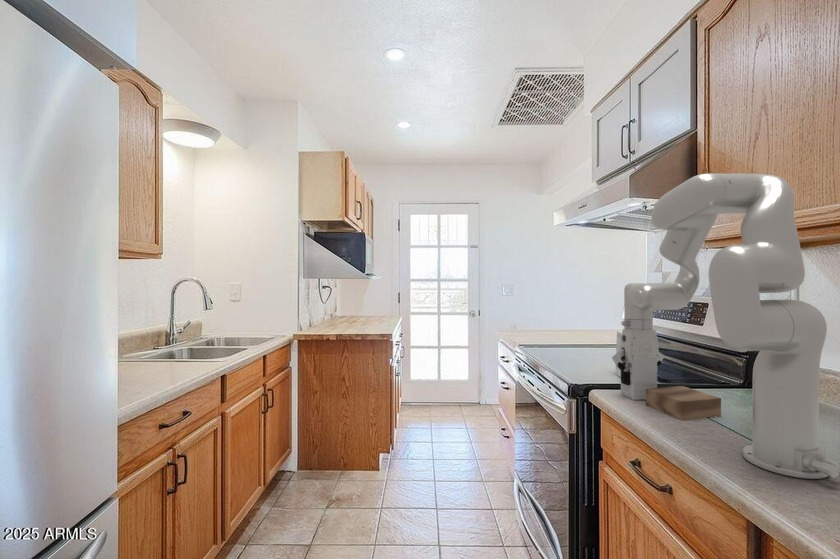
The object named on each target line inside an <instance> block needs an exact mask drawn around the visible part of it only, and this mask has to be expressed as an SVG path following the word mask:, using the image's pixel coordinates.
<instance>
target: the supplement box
mask: <svg viewBox="0 0 840 559" xmlns="http://www.w3.org/2000/svg"><path fill="white" fill-rule="evenodd" d="M624 357H625V355H624ZM625 360H626V357H625ZM621 362H622V361H621ZM626 364H627V363H626ZM625 366H626V365H625ZM628 372H630V385H625V384H623V383H621V382H620V393H621V394H622V395H624V396H625V397H627V398H629V399H631V400H633V401H638V400H639V401H642V400H645V401H646V389H649V388H658V370H657V357H656V356H644V357H632V364H630V368H629V370H628Z"/></svg>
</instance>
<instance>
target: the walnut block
mask: <svg viewBox="0 0 840 559" xmlns="http://www.w3.org/2000/svg"><path fill="white" fill-rule="evenodd" d="M645 406H646V407H649V408H651V409H653V410H656V411H659V412H661V413H663V414H665V415H668V416H669V417H673V418H675V419H677V420H680V421H688V420H696V419H697V420H700V419H707V417H710V418H716V417H715V416H720V417H722V398H721V397H719V396H715V395H712V394H708V393H705V392H702V391H699V390H696V389H693V388H691V387H687V386H684V385H676V386H665V387H664V386H663V387H657V388H649V389H646V400H645Z"/></svg>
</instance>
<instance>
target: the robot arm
mask: <svg viewBox="0 0 840 559" xmlns="http://www.w3.org/2000/svg"><path fill="white" fill-rule="evenodd" d="M794 199H795V198H794V191H793V189H792V187H791V185H790V184H789V183H788V181H787V180H786V179H784V178H783V177H780V176H777V175H776V174H775V175H774V174H765V173H737V172H735V173H721V172H720V173H713V172H712V173H710V172H709V173H702V174H697V175H695V176H692V177H691V178H688V179H687V180H685V181H684V182H682V183H681V184H678V185H677V186H676V187H674V188H672V189H671V190H669V191H667V192H666V193H665V194H663V195H662V196H661V197H660V198H659V199H658V200H656V202H655V203H654V206H653V208H652V211H651V223H652V224H653V226H654V227H655V228H656V229H657V230H658V229H659V230H662V231H663V230H664V231H665V230H666V233H665V235H664V237H663V239H662V241H661V243H660V245H659V253H660V255H661V256H662V257H663V258H664V259H665V260H668V261H669V262H671V263H673V264H675V265H678V266H679V270H678V271H679V272H678V274H677V276H676V278H675V279H674V282H659V283H658V282H656V283H655V282H653V283H646V282H645V283H643V282H641V283H638V282H636V283H632V282H631V283H627V284H626V285H625V286H624V290H623V291H624V295H623V296H624V298H623V299H624V301H623V302H624V303H623V304H624V306H623V307H624V308H623V309H624V311H623V312H624V313H623V314H624V317H623V318H624V320H623V321H621V326H623V328H622V330H621V331H622V335H621V341H620V351H619V352H618V353H617V354H616V353H615V354H614V355H613V356H612V358H611V359H612V361H613V362H614V363H615V367H616V366H617V367H618V368H619V370H621V378H620V384H621V383H623V384H625V385H630V372H628V370H629V368H630V364H632V357H644V356H656V357H657V371H658V369H659V367H660V365H661V364H662V361H663V360H664V358H665V355H664V354H663V353H662V352H660V350H659V341H658V335H657V331H656V329H654V323H653V322H654V321H653V320H654V319H653V318H654V314H653V311H663V310H664V311H669V310H671V311H673V310H676V311H677V310H680V309H683V308H685V307H686V306H687V305H688V304H689V303H690V302H691V300H692V299H693V297H694V295H695V293H696V292H697V290H698V288H699V285H700V280H701V279H700V278H701V277H700V269H699V266H698V263H697V261H696V258H697V256H698V254H699V252H700V251H701V248H702V246H703V245H704V243H705V241H706V239H707V238H708V235H709V234H710V231H711V229H712V227H713V225H714V224H715V222H716V220H717V218H718V216H719V214H720V215H721V214H725V215H726V214H727V215H729V214H735V215H736V214H738V215H739V214H745V215H744V216H743V218H742V222H741V225H740V236H741V241H742V242H741V243H742V244H733V245H732V244H731V245H728V246H725V247H722V248H721V249H719V250H718V251H717V252H716V253H715V254H714V255H713V257H712V259H711V261H710V264H709V267H708V283H709V289H710V296H711V303H712V310H713V315H714V322H715V327H716V331H717V332H718V335H719V337H720V338H721V340H722V342H723V343H725V345H727V346H728V347H729V348H731V349H733V350H736V351H737V350H738V351H743V352H754V351H755V352H758V354H757V356H756V358H755V361H754V363H753V368H752V422H751V423H752V425H751V426H752V428H751V430H752V439H751V440H752V442H751V443H752V444H749V445H745V446H744V447H742V456H743V458H745V459H746V461H748V462H749V463H751V464H753V465H755V466H756V467H759V468H761V469H763V470H766V471H769V472H773V473H775V474H779V475H782V476H787V477H793V478H798V479H807V480H809V479H811V480H817V479H818V480H819V479H820V480H821V479H825V478H827V477H830V478H834V479H835V478H837V477H839V475H840V463H838V462H836V461H833V460H829V459H827V457H826V449H824V448H821V447H819V432H820V431H819V429H820V428H819V422H820V421H819V416H820V415H819V414H820V411H819V409H820V408H819V407H820V406H819V404H820V403H819V402H820V400H819V399H820V398H819V392H820V391H819V390H820V365H821V357H822V354H823V349H824V345H825V342H826V339H827V333H828V332H827V331H828V329H827V327H828V326H827V321H826V319H825V316H824V315H823V313H822V312H821V311H820V310H819V309H818V308H817V307H816V306H814V305H812V304H811V303H809V302H806V301H803V300H802V301H801V300H797V299H764V300H763V299H761V298H760V296H761V295H760V294H776V293H777V294H779V293H780V294H781V293H788V292H791V291H794V290H796V289H797V288H799V287H801V286H802V284H803V282H804V281H805V275H806V272H805V271H806V270H805V265H804V258H803V254H802V247H801V243H800V238H799V233H798V229H797V226H796V220H795V203H794V201H795V200H794ZM624 355H625V357H626V360H625V357H624ZM620 359H621V361H622V362H620ZM626 363H627V364H626ZM625 365H626V366H625Z"/></svg>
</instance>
